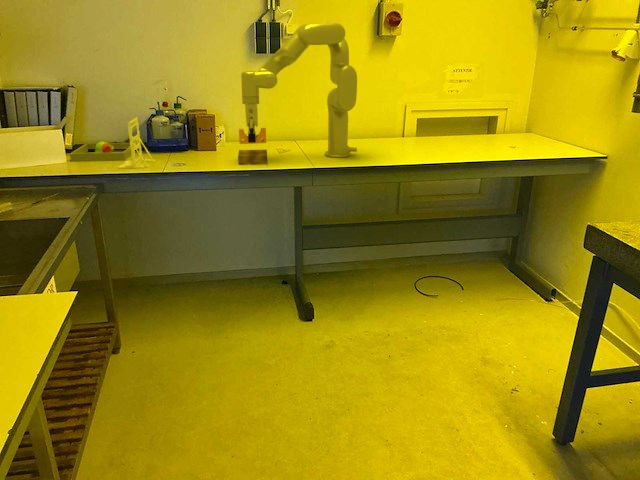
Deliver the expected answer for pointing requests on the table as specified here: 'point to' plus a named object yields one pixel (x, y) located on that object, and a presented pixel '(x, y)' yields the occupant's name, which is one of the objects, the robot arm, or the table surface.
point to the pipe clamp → (258, 137)
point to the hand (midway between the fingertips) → (252, 140)
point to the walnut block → (252, 157)
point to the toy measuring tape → (103, 148)
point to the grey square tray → (83, 156)
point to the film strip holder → (135, 147)
